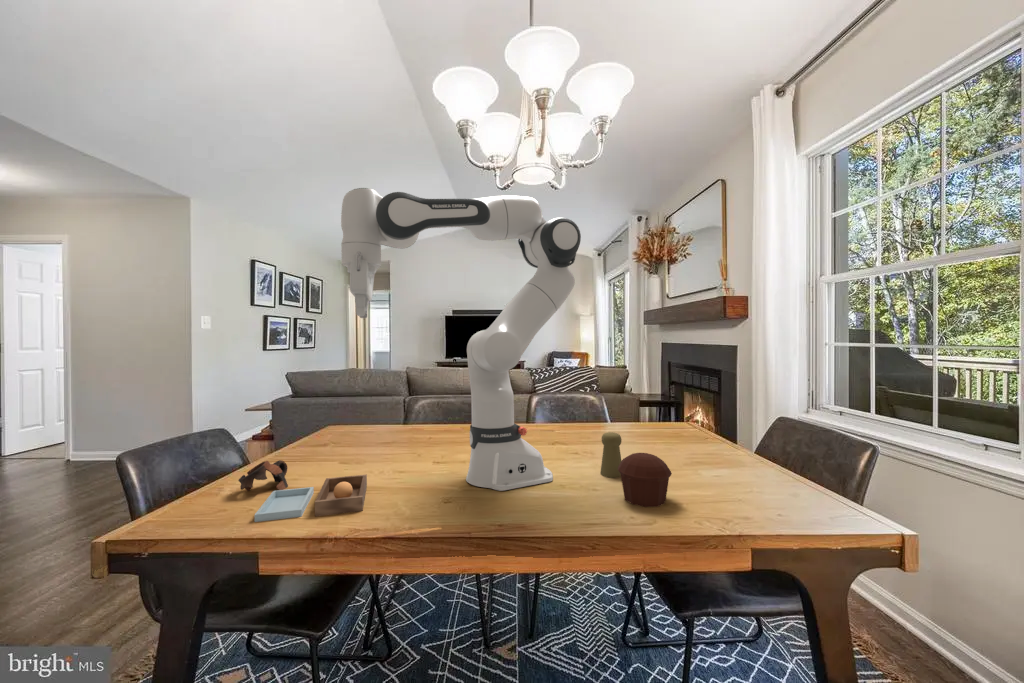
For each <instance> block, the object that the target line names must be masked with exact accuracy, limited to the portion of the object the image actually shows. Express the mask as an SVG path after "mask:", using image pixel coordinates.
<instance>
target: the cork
mask: <svg viewBox="0 0 1024 683" xmlns="http://www.w3.org/2000/svg"><path fill="white" fill-rule="evenodd" d="M621 436H622V435H620V434H619V433H616V432H611V431H609V432H604V433H603V434H602V435H601V443H602V445H603V449H602V456H601V466H600V475H601V476H602V477H604V478H610V479H619V478H621V474H620V473H619V471H618V466H619V464H620V463H621V461H622V456H621V455H622V454H621V448H620V446H621V444H622V437H621Z"/></svg>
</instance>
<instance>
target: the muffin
mask: <svg viewBox="0 0 1024 683" xmlns="http://www.w3.org/2000/svg"><path fill="white" fill-rule="evenodd" d="M618 471H619V473H620V474H621V477H620V479H621V485H622V490H623V496H624V497H623V498H624V501H626V502H628V503H630V504H631V505H634V506H639V507H644V508H651V507H652V508H659V507H661V506H662V505H665V504H666V500H667V494H668V493H667V492H668V489H669V480H670V477H671V476H672V470H671V469H670V468H669V466H668V465H667V464H666V461H664V460H663V459H661V458H660V457H658V456H657V455H655V454H651V453H647V452H636V453H635V452H633V453H631V454H630V455H628V456H626V457H624V458H623V459H621V463H620V464H619V466H618Z"/></svg>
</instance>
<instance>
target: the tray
mask: <svg viewBox="0 0 1024 683" xmlns="http://www.w3.org/2000/svg"><path fill="white" fill-rule="evenodd" d="M314 492H315V490H314V486H310V487H309V486H308V487H300V488H290V489H289V488H286V489H284V490H278V489H277V490H273V491H272V492H271V493H270V494H269V496H268V497H267V498H266V500H265V501H264V502H263V503H262V504H261V506H260V507H259V508H258V510H257V511H256V512H255V513H254V516H253V517H254V523H259V522H266V521H267V522H268V521H275V520H284V519H285V520H286V519H292V518H301V517H303V515H304V513H305V510H306V509H307V506H308V505H309V503H310V501H311V499H312V497H313V495H314Z"/></svg>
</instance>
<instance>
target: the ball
mask: <svg viewBox="0 0 1024 683" xmlns="http://www.w3.org/2000/svg"><path fill="white" fill-rule="evenodd" d="M352 492H353V488H352V486H351V484H350V483H348V482H340V483H338V484H337V485H336V486H335V488H334V496H335V498H345V497H350V496H351V495H352Z"/></svg>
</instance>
